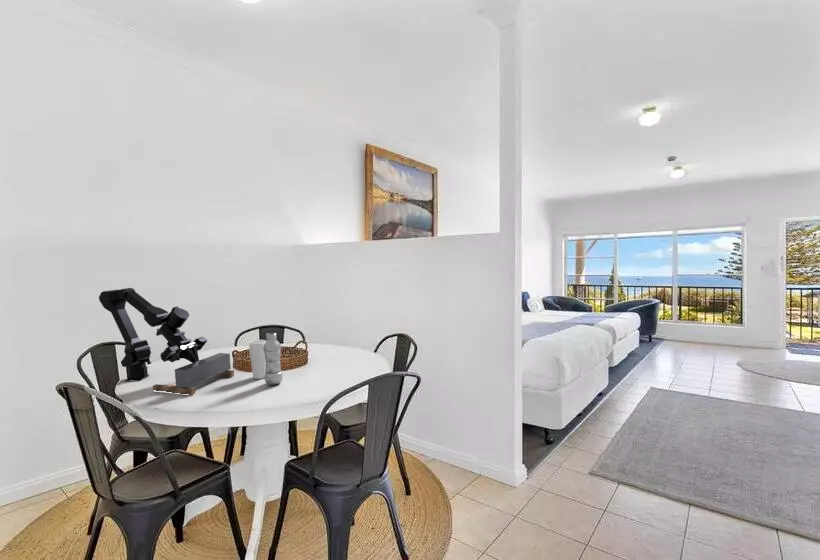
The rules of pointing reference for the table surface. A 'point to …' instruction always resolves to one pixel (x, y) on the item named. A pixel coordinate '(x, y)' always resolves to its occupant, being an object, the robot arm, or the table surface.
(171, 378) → the table surface
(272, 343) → the plastic bottle
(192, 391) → the rails
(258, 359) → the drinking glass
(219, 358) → the arm
